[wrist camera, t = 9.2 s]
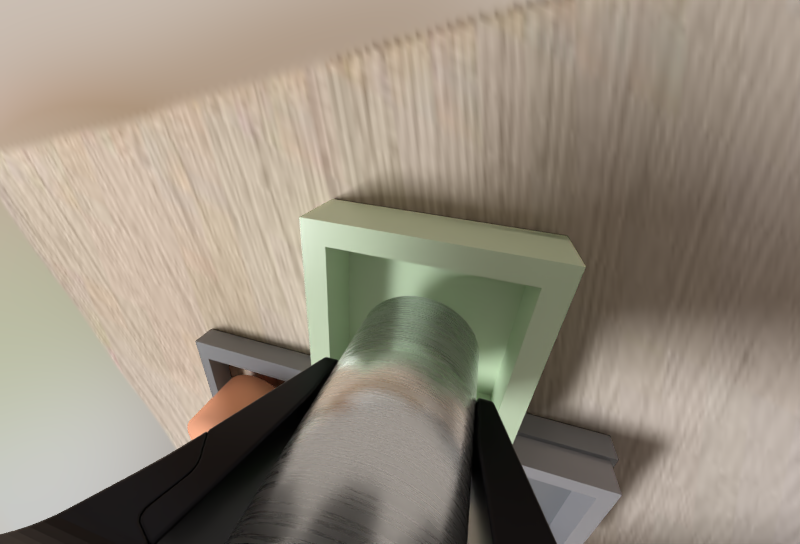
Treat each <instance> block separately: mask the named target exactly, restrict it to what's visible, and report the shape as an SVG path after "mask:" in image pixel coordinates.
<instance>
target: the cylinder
mask: <svg viewBox="0 0 800 544" xmlns="http://www.w3.org/2000/svg"><path fill="white" fill-rule="evenodd" d="M273 389H275V387H274V386H273V385H271V384H270V383H268V382H266V381H264V380H262V379H260V378H257V377H254V376H250V375H238V376H235V377H233V378H232V379H230V380H229V381H228V382H227V383H226V384H225V385H224V386H223V387H222V388H221V389H220V391H219V392H218V393H217V394H216V395H215V396H214V397H213V398H212V399H211V400H210V401H209V402H208V403H207V404H206V405H205V406H204V407H203V408H202V409H201V410H200V411H199V412H198V413H197V414H196V415H195V416H194V417H193V418H192V419H191V420H190V421H189V423H188V433H189V435H190V438H191V439H192V440H193V439H195V438H196V437H198V436H199V435H201V434H203V433H204V432H208V431H209V429H211V428H212V427H214V426H216V425H217V424H219V423H220V422H222V421H224V420H225V419H227V418H228V417H230V416H232V415H233V414H235V413H236V412H238V411H240V410H241V409H243V408H244V407H246V406H248V405H249V404H251V403H252V402H254V401H256V400H257V399H259V398H260V397H262V396H264V395H265V394H267V393H268V392H270V391H272V390H273Z"/></svg>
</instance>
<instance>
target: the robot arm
mask: <svg viewBox="0 0 800 544" xmlns="http://www.w3.org/2000/svg"><path fill="white" fill-rule="evenodd" d="M337 363H338V360H337V359H333V358H329V357H325V358H323V359H321V360H319V361H318V362H316V363H315V364H313V365H311V366H310V367H308V368H307V369H305V370H303V371H302V372H300V373H299V374H297V375H295V376H294V377H292V378H291V379H289V380H287V381H286V382H284V383H283V384H281V385H279V386H278V387H276V388H275V389H273V390H272V391H270V392H268V393H267V394H265V395H264V396H262V397H260V398H259V399H257V400H256V401H254V402H252V403H251V404H249V405H248V406H246V407H244V408H243V409H241V410H240V411H238V412H236V413H235V414H233V415H232V416H230V417H228V418H227V419H225V420H224V421H222V422H220V423H219V424H217V425H216V426H214V427H212V428H211V429H209V431H208V432H204V433H203V434H201V435H199V436H198V437H196V438H195V439H193V440H192V441H190V442H188V443H187V444H185V445H183V446H182V447H180V448H178V449H177V450H175V451H173V452H172V453H170V454H168V455H167V456H165V457H163V458H161V459H159V460H158V461H156V462H154V463H153V464H150V465H149V466H147V467H145V468H143V469H141V470H140V471H138V472H136V473H134V474H132V475H130V476H128V477H127V478H125V479H123V480H121V481H119V482H117V483H115V484H113V485H112V486H110V487H108V488H106V489H104V490H102V491H100V492H99V493H97V494H95V495H93V496H91V497H89V498H87V499H85V500H84V501H82V502H80V503H78V504H76V505H74V506H72V507H70V508H69V509H67V510H65V511H63V512H61V513H59V514H57V515H55V516H52V517H50V518H48V519H46V520H43V521H41V522H38V523H36V524H33V525H30V526H28V527H24V528H21V529H18V530H15V531H11V532H8V533H4V534H0V544H225V542H226V541H227V539H228V538H229V536H230V534H231V533H232V531H233V530H234V528H235V526H236V525H237V523H238V522H239V520H240V518H241V517H242V515H243V514H244V512H245V510H246V509H247V507H248V505H249V504H250V502H251V501H252V499H253V497H254V496H255V494H256V493H257V491H258V489H259V488H260V486H261V485H262V483H263V481H264V480H265V478H266V477H267V475H268V473H269V472H270V470H271V469H272V467H273V465H274V464H275V462H276V461H277V459H278V457H279V456H280V454H281V453H282V451H283V449H284V448H285V446H286V445H287V443H288V441H289V440H290V438H291V437H292V435H293V433H294V432H295V430H296V429H297V427H298V425H299V424H300V422H301V421H302V419H303V417H304V416H305V414H306V413H307V411H308V409H309V408H310V406H311V405H312V403H313V401H314V400H315V398H316V397H317V395H318V393H319V392H320V390H321V389H322V387H323V385H324V384H325V382H326V381H327V379H328V377H329V376H330V374H331V372H332V371H333V369H334V368H335V366H336V364H337ZM467 544H557V542H556V540H555V538H554V535H553V533H552V531H551V529H550V526H549V524H548V522H547V520H546V518H545V515H544V513H543V511H542V509H541V506H540V504H539V502H538V500H537V498H536V495H535V493H534V491H533V489H532V487H531V484H530V482H529V480H528V478H527V475H526V473H525V471H524V469H523V467H522V464H521V462H520V460H519V458H518V455H517V453H516V451H515V449H514V447H513V444H512V442H511V440H510V438H509V435H508V433H507V431H506V429H505V427H504V424H503V422H502V420H501V418H500V415H499V413H498V411H497V409H496V407H495V405H494V403H493V402H492V401H490V400H486V399H482V398H478V399H477V401H476V411H475V427H474V443H473V460H472V477H471V493H470V509H469V525H468V541H467Z"/></svg>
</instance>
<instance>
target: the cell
mask: <svg viewBox="0 0 800 544" xmlns="http://www.w3.org/2000/svg"><path fill="white" fill-rule="evenodd" d="M478 364H479V347H478V342H477V339H476V336H475V334H474V332H473V330H472V329H471V327H470V326H469V324H468V323H467V322H466V321H465V320H464V319H463V318H462V317H461V316H460V315H459V314H458V313H457V312H455V311H454V310H452V309H451V308H449V307H448V306H446V305H444V304H442V303H440V302H437V301H435V300H432V299H428V298H425V297H418V296H400V297H395V298H391V299H388V300H385V301H383V302H381V303H380V304H378V305H377V306H375V307H374V308H373V309H372V310H371V311H370V312H369V314H368V315H367V316H366V318H365V320H364V321H363V323H362V324H361V326H360V328H359V329H358V331H357V332H356V334H355V336H354V337H353V339H352V340H351V342H350V344H349V345H348V347H347V348H346V350H345V352H344V353H343V355H342V356H341V358H340V360H339V361H338V363H337V364H336V366H335V368H334V369H333V371H332V372H331V374H330V376H329V377H328V379H327V381H326V382H325V384H324V385H323V387H322V389H321V390H320V392H319V393H318V395H317V397H316V398H315V400H314V401H313V403H312V405H311V406H310V408H309V409H308V411H307V413H306V414H305V416H304V417H303V419H302V421H301V422H300V424H299V425H298V427H297V429H296V430H295V432H294V433H293V435H292V437H291V438H290V440H289V441H288V443H287V445H286V446H285V448H284V449H283V451H282V453H281V454H280V456H279V457H278V459H277V461H276V462H275V464H274V465H273V467H272V469H271V470H270V472H269V473H268V475H267V477H266V478H265V480H264V481H263V483H262V485H261V486H260V488H259V489H258V491H257V493H256V494H255V496H254V497H253V499H252V501H251V502H250V504H249V505H248V507H247V509H246V510H245V512H244V514H243V515H242V517H241V518H240V520H239V522H238V523H237V525H236V526H235V528H234V530H233V531H232V533H231V534H230V536H229V538H228V539H227V541H226V542H225V544H467V541H468V525H469V509H470V493H471V477H472V460H473V443H474V427H475V411H476V396H477V380H478Z"/></svg>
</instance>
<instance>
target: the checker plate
mask: <svg viewBox="0 0 800 544" xmlns="http://www.w3.org/2000/svg"><path fill="white" fill-rule="evenodd" d="M195 342H196V345H197V348H198V351H199V355H200V358H201V361H202V364H203V367H204V371H205V374H206V377H207V380H208V384H209V387H210V390H211V393H212V397H214V396H215V395H216V394H217V393H218V392H219V391H220V389H221V388H222V387H223V386H224V385H225V384H226V383H227V382H228V381H229V380H230V379H232V378H231V374H230V371H229V367H228V365H232V366H235V367H238V368H242V369H245V370H249V371H252V372H256V373H259V374H263V375H266V376H269V377H273V378H276V379H280V380H283V381H287V380H289V379H291V378H292V377H294V376H295V375H297V374H299V373H300V372H302V371H303V370H305V369H307V368H308V367H310V366H311V356H310V355H306V354H303V353H299V352H295V351H291V350H288V349H284V348H280V347H276V346H273V345H269V344H265V343H262V342H258V341H254V340H250V339H247V338H243V337H239V336H235V335H232V334H228V333H224V332H221V331H217V330H213V329H211V330H209V331H208V332H207V333H205V334H204V335H203V336H202V337H200V338H199V339H198V340H196V341H195ZM513 447H514V449H515V451H516V453H517V455H518V458H519V460H520V462H521V464H522V467H523V469H524V471H525V473H526V475H527V478H528V480H529V482H530V484H531V487H532V489H533V491H534V493H535V495H536V498H537V500H538V502H539V504H540V506H541V509H542V511H543V513H544V515H545V518H546V520H547V522H548V524H549V526H550V529H551V531H552V533H553V535H554V538H555V540H556V542H557V544H584V542H585V541H586V540H587V539H588V537H589V536H590V535H591V534H592V532H593V531H594V530H595V529H596V527H597V526H598V525H599V524H600V522H601V521H602V520H603V518H604V517H605V516H606V515H607V513H608V512H609V511H610V510H611V508H612V507H613V506H614V505H615V503H616V502H617V501H618V500H619V498H620V497H621V496H622V494H621V491H620V488H619V485H618V482H617V479H616V476H615V473H614V470H613V467H614V466H615V465H616V463H617V462H618V460H619V459H618V457H617V454H616V451H615V448H614V445H613V443H612V440H611V437H610V436H608V435H605V434H601V433H597V432H594V431H590V430H586V429H582V428H579V427H575V426H571V425H567V424H564V423H560V422H556V421H552V420H549V419H545V418H541V417H538V416H534V415H530V414H526V413H525V415H524V418H523V420H522V423H521V425H520V428H519V430H518V432H517V435H516V437H515V440H514V442H513Z"/></svg>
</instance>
